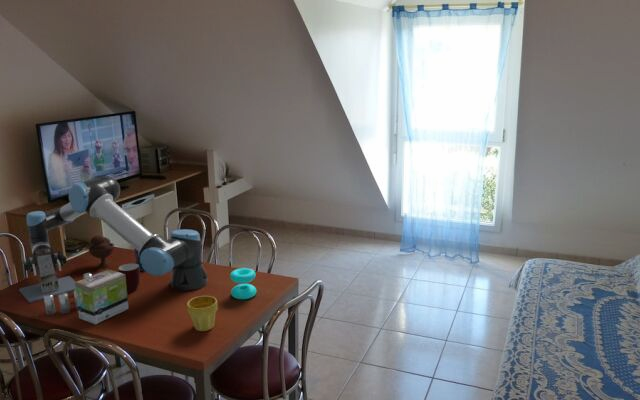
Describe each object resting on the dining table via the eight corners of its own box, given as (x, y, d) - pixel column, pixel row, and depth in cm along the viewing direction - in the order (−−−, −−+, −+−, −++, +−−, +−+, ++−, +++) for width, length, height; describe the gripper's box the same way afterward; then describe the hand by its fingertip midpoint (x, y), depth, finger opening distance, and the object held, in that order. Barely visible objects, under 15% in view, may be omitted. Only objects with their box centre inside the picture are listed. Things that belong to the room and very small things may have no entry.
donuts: (257, 275, 223) (231, 278, 221) (258, 298, 226) (232, 301, 224) (253, 265, 233) (228, 268, 230) (254, 288, 235) (230, 291, 233)
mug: (124, 297, 229) (121, 274, 226) (111, 293, 233) (108, 270, 230) (145, 288, 237) (143, 265, 234) (133, 284, 241) (130, 261, 239)
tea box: (96, 325, 207) (91, 287, 203) (78, 319, 212) (73, 281, 208) (129, 309, 219) (125, 273, 215) (112, 303, 224) (107, 268, 220)
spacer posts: (106, 301, 226) (104, 284, 224) (49, 317, 213) (47, 300, 211) (92, 287, 238) (90, 272, 237) (37, 303, 225) (34, 286, 224)
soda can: (137, 266, 261) (134, 241, 258) (153, 264, 262) (150, 239, 259) (136, 271, 254) (133, 246, 251) (152, 270, 256) (149, 244, 253)
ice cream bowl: (111, 270, 256) (107, 238, 252) (86, 270, 257) (82, 238, 253) (120, 261, 267) (116, 230, 263) (96, 261, 267) (92, 231, 263)
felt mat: (81, 288, 238) (81, 287, 237) (29, 303, 225) (29, 301, 225) (69, 277, 250) (69, 275, 249) (19, 290, 237) (18, 288, 237)
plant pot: (186, 334, 199) (184, 308, 197) (192, 320, 209) (190, 295, 207) (216, 333, 199) (214, 308, 197) (221, 319, 209) (219, 295, 207)
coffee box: (59, 290, 235) (54, 253, 230) (42, 293, 232) (36, 256, 227) (56, 282, 242) (51, 246, 238) (40, 285, 239) (34, 249, 235)
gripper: (69, 256, 255) (77, 273, 237) (16, 265, 245) (19, 284, 226) (67, 240, 253) (74, 256, 234) (13, 249, 243) (16, 266, 224)
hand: (47, 270), depth 230 cm, fingers open, 8 cm apart
